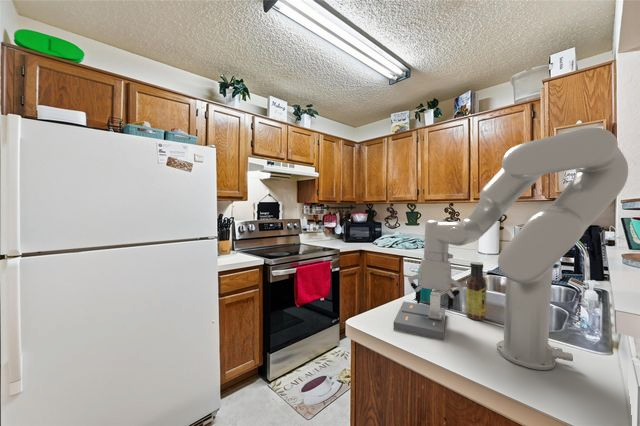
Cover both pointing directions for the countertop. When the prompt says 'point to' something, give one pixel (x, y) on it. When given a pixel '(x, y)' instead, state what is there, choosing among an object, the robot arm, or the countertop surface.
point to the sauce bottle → (476, 293)
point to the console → (419, 321)
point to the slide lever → (435, 306)
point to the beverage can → (424, 293)
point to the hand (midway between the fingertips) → (433, 305)
